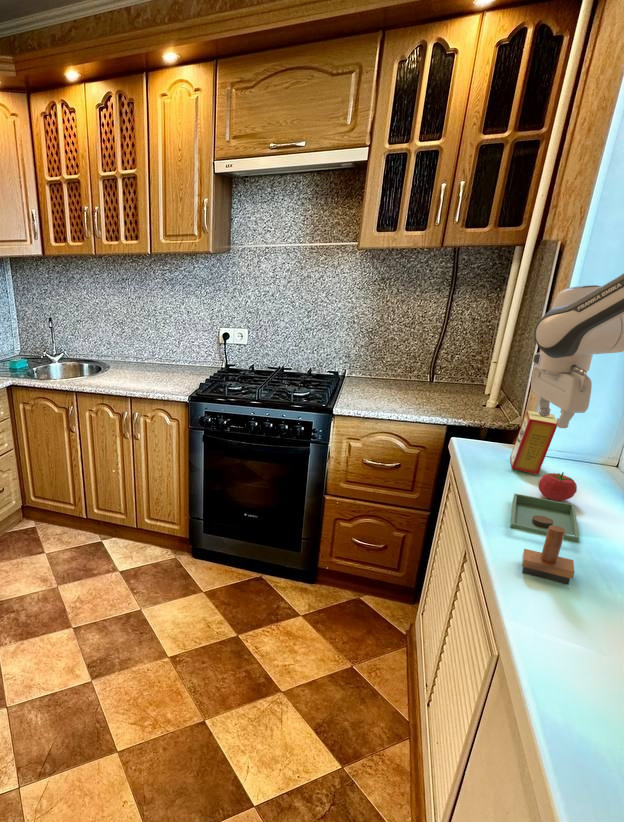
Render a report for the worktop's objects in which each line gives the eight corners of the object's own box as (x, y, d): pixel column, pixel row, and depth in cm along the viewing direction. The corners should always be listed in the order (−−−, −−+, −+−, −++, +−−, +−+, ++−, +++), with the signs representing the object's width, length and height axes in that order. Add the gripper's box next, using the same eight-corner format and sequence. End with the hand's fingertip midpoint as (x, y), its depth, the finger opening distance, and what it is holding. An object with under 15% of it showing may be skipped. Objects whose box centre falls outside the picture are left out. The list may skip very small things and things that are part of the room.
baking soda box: (538, 474, 151) (558, 423, 145) (511, 468, 154) (530, 417, 148) (535, 463, 159) (554, 413, 152) (509, 457, 162) (527, 408, 155)
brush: (519, 575, 106) (531, 528, 102) (520, 563, 109) (532, 518, 106) (569, 587, 101) (584, 539, 98) (568, 575, 105) (582, 528, 101)
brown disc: (549, 521, 124) (550, 516, 124) (554, 529, 121) (556, 524, 121) (529, 518, 126) (530, 514, 125) (534, 526, 122) (535, 522, 122)
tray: (511, 503, 135) (514, 493, 134) (571, 514, 128) (574, 504, 127) (508, 534, 120) (511, 523, 119) (576, 549, 114) (579, 538, 113)
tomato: (531, 497, 137) (542, 471, 134) (536, 487, 142) (546, 462, 139) (569, 509, 132) (580, 482, 129) (572, 498, 137) (584, 472, 134)
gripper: (607, 371, 106) (591, 435, 111) (561, 353, 125) (549, 409, 129) (570, 371, 108) (556, 434, 113) (530, 353, 126) (519, 409, 131)
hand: (552, 421), depth 121 cm, fingers open, 8 cm apart
